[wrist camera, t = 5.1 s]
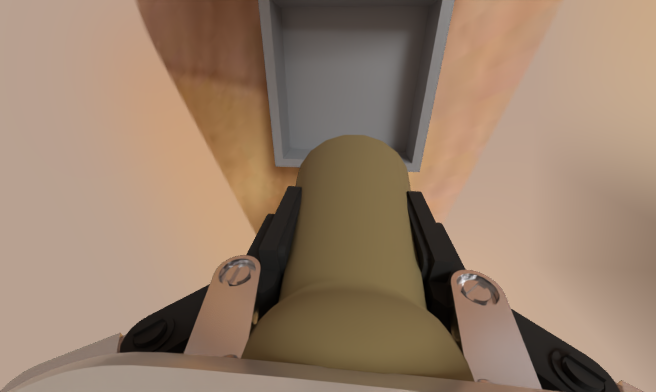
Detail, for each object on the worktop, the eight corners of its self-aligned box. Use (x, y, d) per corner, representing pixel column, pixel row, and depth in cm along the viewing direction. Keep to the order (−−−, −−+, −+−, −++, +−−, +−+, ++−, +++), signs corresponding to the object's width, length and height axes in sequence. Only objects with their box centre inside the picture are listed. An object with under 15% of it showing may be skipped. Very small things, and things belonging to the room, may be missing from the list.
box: (272, -3, 20) (256, -17, 17) (439, -5, 19) (458, -20, 16) (285, 152, 27) (275, 166, 23) (410, 157, 26) (419, 172, 22)
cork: (309, 236, 15) (236, 544, 6) (284, 143, 12) (40, 471, 3) (409, 228, 14) (522, 586, 5) (409, 125, 11) (729, 549, 2)
